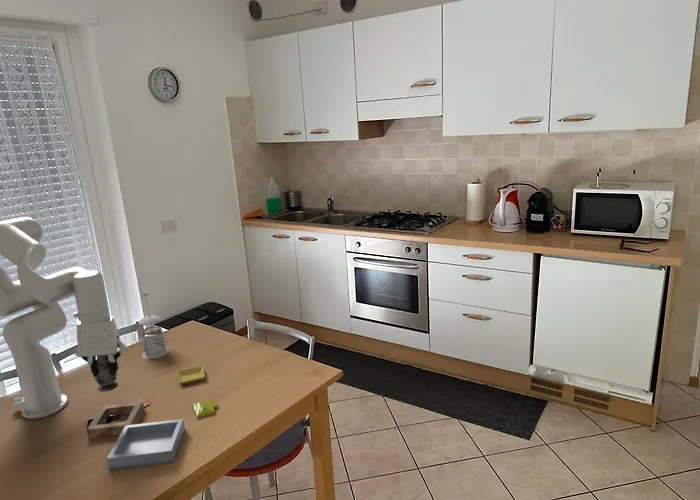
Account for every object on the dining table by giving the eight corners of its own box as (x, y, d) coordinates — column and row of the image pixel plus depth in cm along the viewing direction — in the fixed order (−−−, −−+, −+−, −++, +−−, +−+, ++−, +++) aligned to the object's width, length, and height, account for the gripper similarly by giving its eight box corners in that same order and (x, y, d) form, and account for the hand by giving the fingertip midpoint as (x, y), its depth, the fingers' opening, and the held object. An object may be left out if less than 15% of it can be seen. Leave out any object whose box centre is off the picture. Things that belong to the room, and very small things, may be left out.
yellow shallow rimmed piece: (206, 382, 165) (205, 376, 164) (179, 388, 162) (178, 382, 161) (203, 370, 173) (202, 365, 172) (178, 376, 170) (177, 371, 169)
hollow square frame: (88, 438, 137) (86, 429, 136) (104, 414, 149) (102, 405, 148) (132, 433, 138) (130, 424, 138) (144, 409, 150) (142, 401, 149)
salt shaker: (110, 393, 137) (103, 355, 134) (92, 391, 138) (84, 353, 135) (123, 382, 143) (116, 345, 140) (106, 380, 144) (99, 344, 141)
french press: (174, 350, 190) (164, 290, 183) (148, 363, 180) (137, 300, 174) (158, 345, 195) (147, 286, 188) (132, 357, 185) (120, 296, 179)
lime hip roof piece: (188, 407, 151) (187, 399, 150) (218, 399, 154) (217, 391, 154) (192, 424, 142) (191, 416, 141) (223, 415, 146) (222, 407, 145)
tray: (109, 470, 124) (106, 458, 123) (127, 436, 137) (125, 425, 136) (173, 462, 125) (171, 450, 124) (185, 429, 139) (183, 418, 138)
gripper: (56, 323, 130) (69, 383, 135) (121, 318, 132) (131, 378, 137) (68, 312, 137) (80, 370, 142) (130, 307, 139) (139, 365, 144)
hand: (105, 373), depth 139 cm, fingers closed on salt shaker, 4 cm apart
